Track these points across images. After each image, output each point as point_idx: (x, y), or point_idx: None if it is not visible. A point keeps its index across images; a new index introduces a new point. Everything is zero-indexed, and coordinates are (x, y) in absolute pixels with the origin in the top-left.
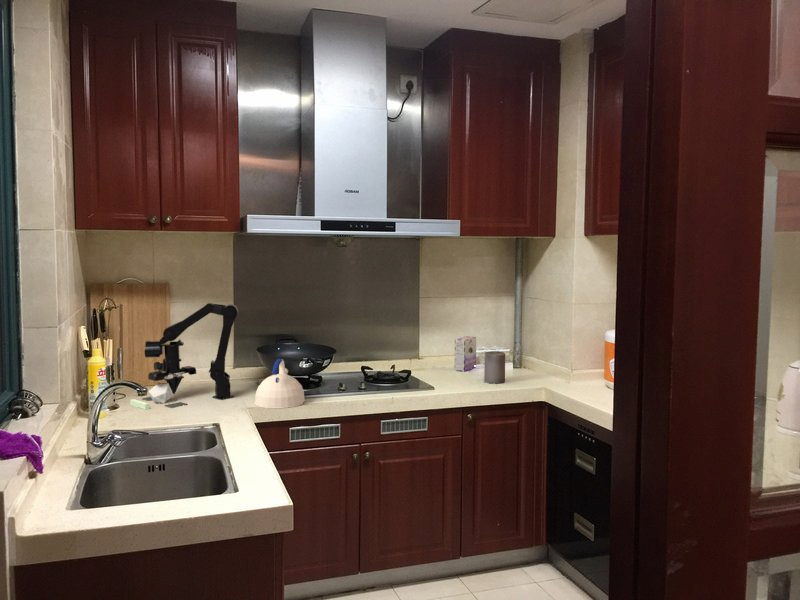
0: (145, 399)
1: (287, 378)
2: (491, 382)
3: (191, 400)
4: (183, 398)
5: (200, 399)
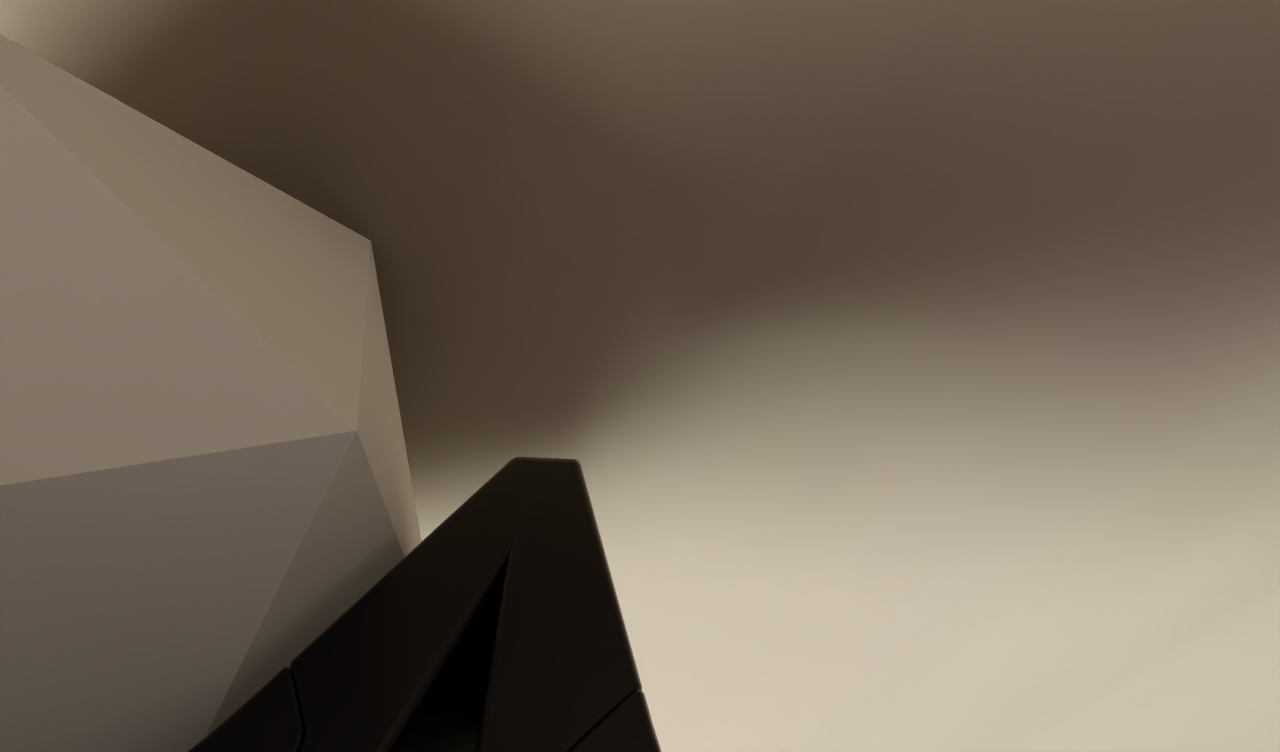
0: None
1: None
2: None
3: (854, 683)
4: (889, 409)
5: (1041, 742)
